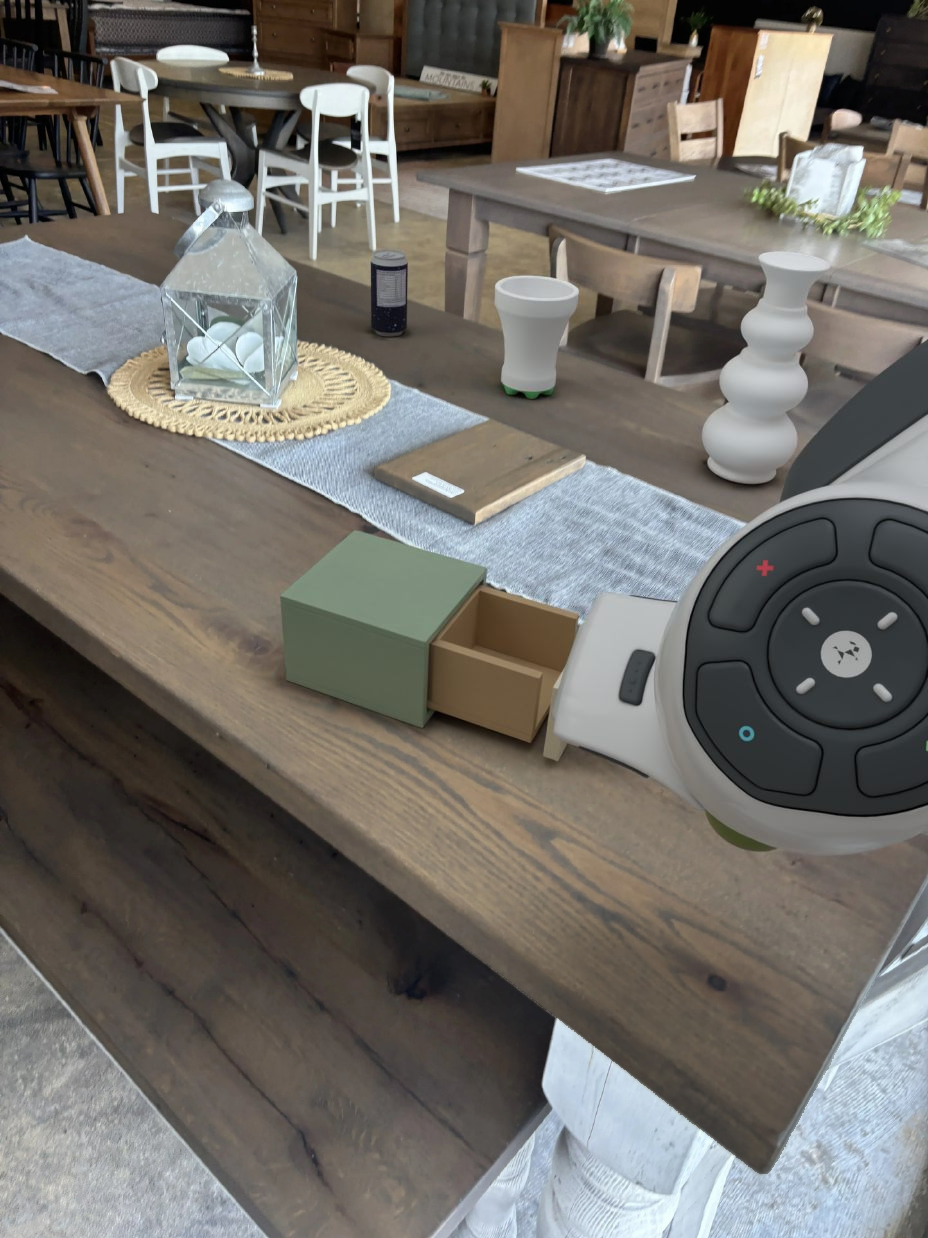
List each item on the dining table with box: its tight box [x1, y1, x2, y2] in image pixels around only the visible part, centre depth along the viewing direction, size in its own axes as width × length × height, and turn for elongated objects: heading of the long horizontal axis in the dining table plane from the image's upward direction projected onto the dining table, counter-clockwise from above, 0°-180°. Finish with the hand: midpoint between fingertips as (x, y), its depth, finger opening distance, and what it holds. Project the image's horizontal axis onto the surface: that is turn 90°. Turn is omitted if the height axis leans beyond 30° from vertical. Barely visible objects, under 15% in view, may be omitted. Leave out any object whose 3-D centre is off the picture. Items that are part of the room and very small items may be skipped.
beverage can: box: [370, 249, 409, 338], centre depth 141 cm, size 6×6×12 cm
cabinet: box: [279, 529, 488, 729], centre depth 74 cm, size 12×11×8 cm
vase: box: [701, 250, 831, 485], centre depth 103 cm, size 11×11×25 cm
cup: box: [494, 275, 580, 400], centre depth 124 cm, size 11×11×14 cm
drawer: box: [427, 584, 580, 762], centre depth 70 cm, size 16×10×7 cm, turn 66°
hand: (767, 753), depth 47 cm, fingers closed on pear, 5 cm apart
